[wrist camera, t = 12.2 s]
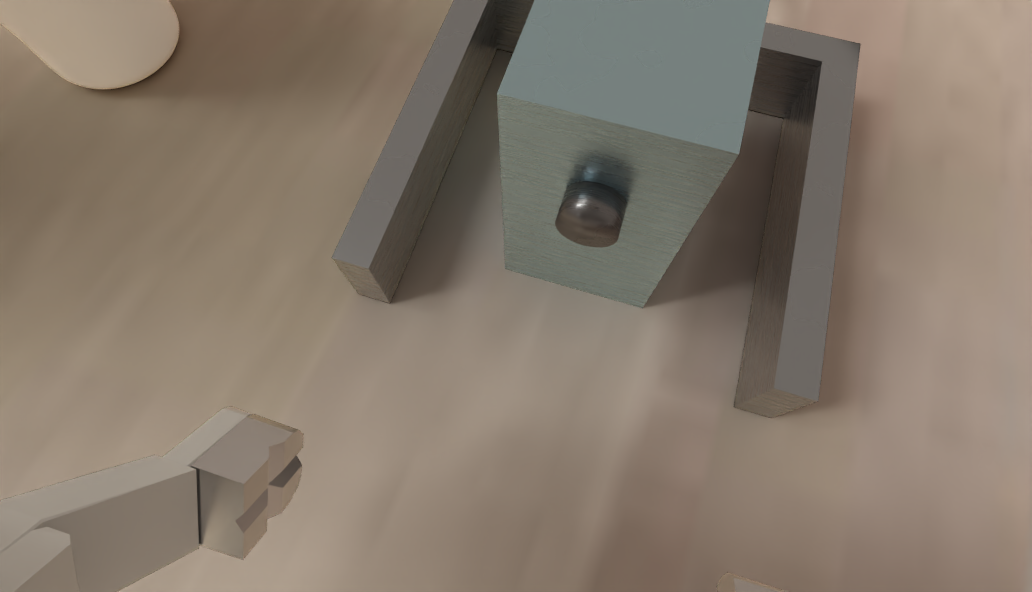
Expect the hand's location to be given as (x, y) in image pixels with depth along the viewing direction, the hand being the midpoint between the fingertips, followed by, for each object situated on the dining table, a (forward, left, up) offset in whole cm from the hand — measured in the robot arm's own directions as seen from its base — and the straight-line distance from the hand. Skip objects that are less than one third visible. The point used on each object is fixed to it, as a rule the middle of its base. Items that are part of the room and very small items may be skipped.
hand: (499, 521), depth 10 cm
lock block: (-8, +8, -7) cm, 13 cm away
